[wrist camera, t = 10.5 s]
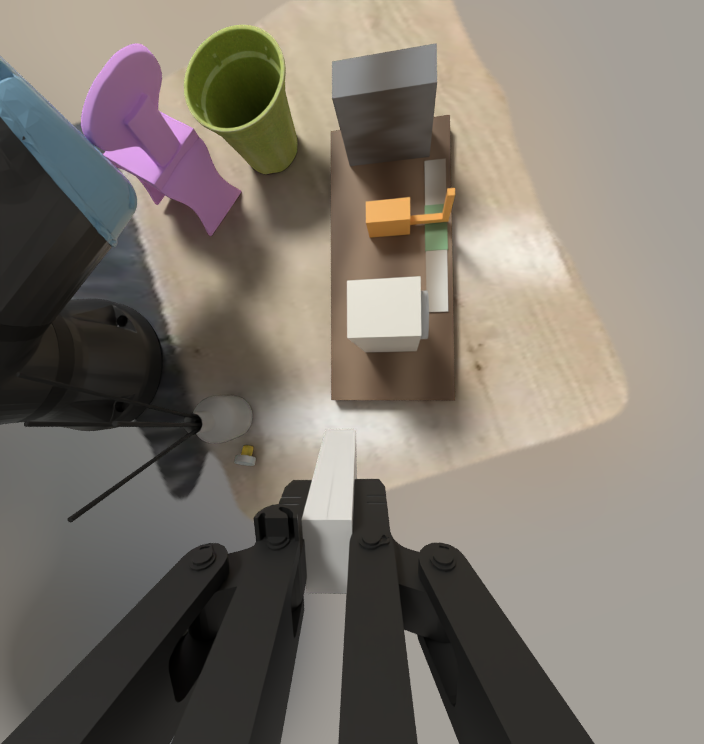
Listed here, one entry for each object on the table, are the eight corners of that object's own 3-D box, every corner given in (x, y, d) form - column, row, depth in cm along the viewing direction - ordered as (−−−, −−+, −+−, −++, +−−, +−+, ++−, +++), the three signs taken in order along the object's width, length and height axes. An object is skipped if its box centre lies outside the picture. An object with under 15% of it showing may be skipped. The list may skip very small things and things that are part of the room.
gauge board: (334, 399, 34) (307, 404, 25) (333, 141, 35) (307, 53, 26) (452, 399, 32) (471, 405, 23) (447, 126, 33) (464, 25, 24)
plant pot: (330, 135, 35) (306, 56, 27) (278, 206, 36) (238, 150, 27) (267, 94, 37) (226, 5, 28) (219, 162, 37) (163, 96, 29)
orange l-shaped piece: (369, 237, 32) (363, 211, 28) (369, 218, 33) (362, 189, 28) (447, 231, 31) (455, 203, 26) (447, 211, 31) (454, 179, 26)
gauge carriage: (365, 352, 32) (347, 337, 22) (365, 312, 32) (346, 280, 22) (423, 351, 31) (430, 335, 21) (422, 310, 31) (429, 275, 22)
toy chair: (187, 151, 38) (64, -15, 23) (246, 184, 37) (156, 30, 22) (147, 209, 38) (-5, 76, 23) (206, 244, 36) (86, 127, 22)
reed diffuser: (202, 390, 37) (-35, 396, 17) (253, 362, 36) (66, 334, 16) (239, 472, 36) (30, 582, 16) (292, 446, 35) (142, 527, 15)
